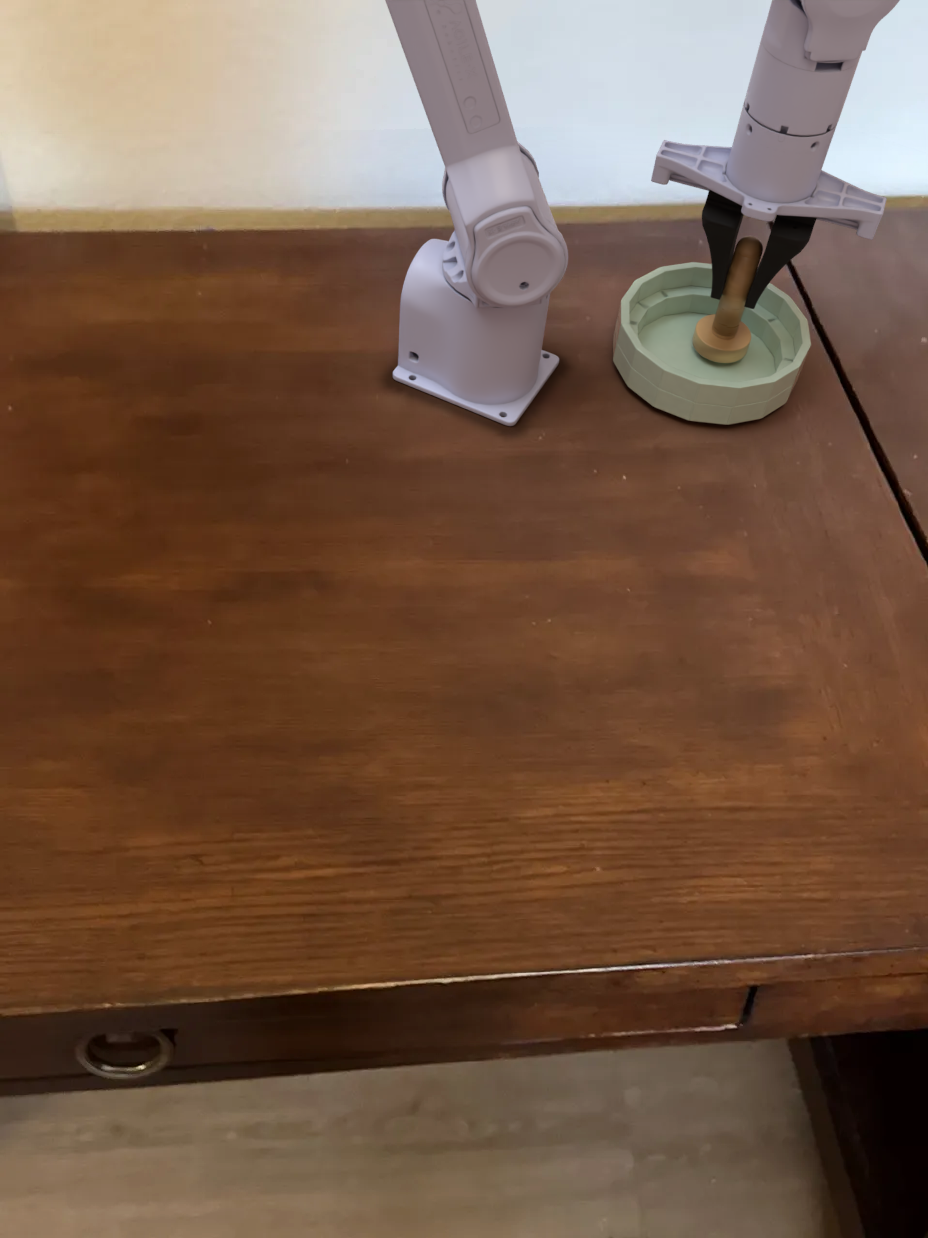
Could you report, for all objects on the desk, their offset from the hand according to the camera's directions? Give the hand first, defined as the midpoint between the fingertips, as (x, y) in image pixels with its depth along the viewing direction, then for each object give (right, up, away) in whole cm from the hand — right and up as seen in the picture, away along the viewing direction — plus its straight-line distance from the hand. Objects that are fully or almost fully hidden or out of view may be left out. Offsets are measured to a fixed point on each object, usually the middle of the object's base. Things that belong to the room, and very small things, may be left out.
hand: (734, 294), depth 84 cm
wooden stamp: (0, -3, +4) cm, 4 cm away
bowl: (-1, -4, +4) cm, 6 cm away
